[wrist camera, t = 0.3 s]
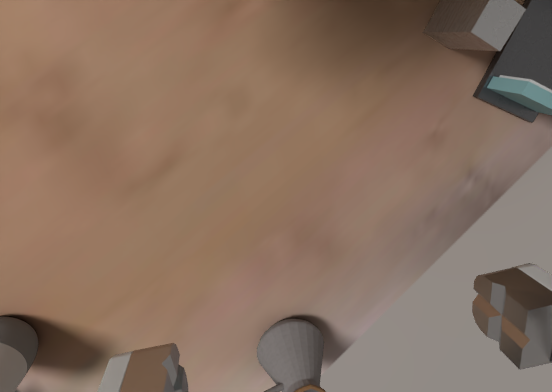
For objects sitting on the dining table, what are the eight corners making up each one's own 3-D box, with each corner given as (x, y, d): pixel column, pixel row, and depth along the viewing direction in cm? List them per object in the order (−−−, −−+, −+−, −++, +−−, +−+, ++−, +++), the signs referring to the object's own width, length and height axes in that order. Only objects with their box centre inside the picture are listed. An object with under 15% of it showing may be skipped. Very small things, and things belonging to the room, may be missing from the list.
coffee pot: (324, 309, 61) (359, 386, 48) (311, 358, 66) (340, 441, 52) (198, 310, 56) (197, 396, 43) (193, 363, 61) (191, 456, 47)
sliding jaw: (536, 111, 52) (574, 120, 47) (486, 87, 49) (521, 94, 44) (545, 98, 51) (584, 105, 46) (494, 73, 48) (530, 78, 43)
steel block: (422, 32, 45) (470, 31, 37) (442, -4, 44) (497, -13, 36) (448, 48, 47) (500, 51, 39) (468, 13, 45) (526, 9, 37)
